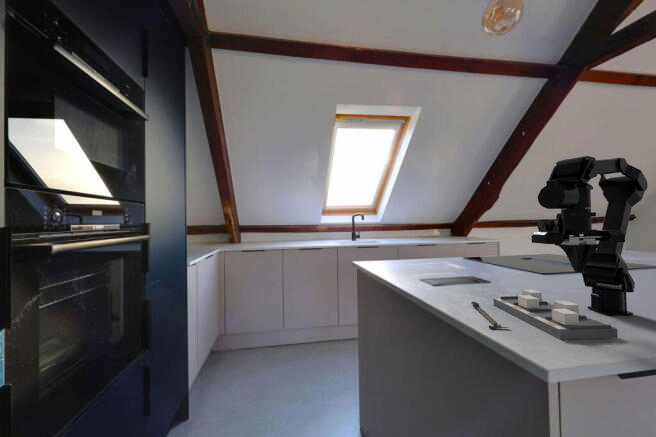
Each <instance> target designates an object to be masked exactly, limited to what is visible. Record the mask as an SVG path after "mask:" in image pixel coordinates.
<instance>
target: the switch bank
mask: <svg viewBox="0 0 656 437" xmlns="http://www.w3.org/2000/svg"><path fill="white" fill-rule="evenodd" d="M492 300H493V306H494V307H497V308H498V309H500V310H502V311H504V312H505V313H508V314H509V315H511V316H514V317H515V318H517V319H520V320H522V321H523V322H525V323H527V324H528V325H531V326H533V327H534V328H537V329H538V330H540V331H543V332H544V333H546V334H548V335H551V337H552V336H553V337H555V338H556V339H558V340H560V341H562V340H563V341H564V340H597V339H601V340H602V339H603V340H604V339H618V337H619V336H618V332H619V331H618V328H617V327H614V326H612V324H607V323H603V322H600V321H598V320H596V319H592V318H590V317H587V315H584V314H583V315H582V314H580V313H579V315H578V317H579V325H564V324H561V323H559V322H557V321H555V320H552V309H554V303H553V304H552V303H550V302H549V301H546V300H542V301H539V308H525V307H523V306H521V305H518V295H515V296H514V295H510V296H509V295H508V296H507V295H506V296H501V295H500V298H495V297H494V298H493V299H492Z"/></svg>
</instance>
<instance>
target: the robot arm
mask: <svg viewBox="0 0 656 437" xmlns="http://www.w3.org/2000/svg"><path fill="white" fill-rule="evenodd" d="M617 173H618V174H619V173H620V174H621V176H615V177H609V178H607V177H606V176H605V175H610V174H617ZM598 175H600V178H599V181H598V183H597V184H598V187H599V188H600V189H601V191H602V195H603V197H604V198H605V201H606V202H607V207H606V211H605V215H604V219H603V223H602V227H601V229H594V228H593V226H592V225H593V224H592V223H593V222H592V220H593V219H592V217H594V218H595V217H597V212H596V211H595V212H593V211H592V199H591V198H592V197H591V196H592V195H591V191H593V190H594V186H593V185H592V184H590V181H591V180H592V179H594V178H596V177H597V176H598ZM545 183H546V185H545V186H544V187H542V188H541V189H540V191H539V193H538V195H537V202H538V204H539V205H540V206H541V207H542V208H544V209H545V210H546V209H547V210H560V213H556V216H555V218H556V219H554V220H549V219H545V218H544V219H539V220H538V221H537V229H538V231H534V232H533V233H532V235H531V243H533V244H541V245H554V246H556V247H559V248H561V249H562V250H563V251H564V253H565V255H566V257H567V259H568V261H569V263H570V264H571V266H572V269H573V271H574V272H575V273H581V275H582V280H583V283H584V286H585V287H587V288H588V287H589V288H591V292H590V305H589V306H587V309H589V310H592V311H595V312H598V313H601V314H604V315H606V316H631V315H632V316H633V315H634V312H632V311H629V310H628V303H627V293H635V289H636V285H635V284H636V283H635V281H634V279H633V277H632V276H631V274H630V273H629V271H628V268H629V266H628V264H627V263H626V261H625V260H624V258H623V257H622V253H623V248H624V244H625V243H626V235H627V231H628V230H627V229H628V226H629V223H630V218H631V212H632V208H633V207H634V206H635V205H637V204H638V203H639V202H641V200H643V198H644V194H645V192H646V191H647V190H648V180H647V178H646V176H645V175H644V173H643V172H642V170H641V169H639V168H637V167H636V166H633V165H631V164H629V163H628V161H627V160H626V158H624V157H616V158H615V157H614V158H608V159H596V157H594V156H590V155H584V156H578V157H577V156H576V157H573V158H566V159H560V160H557V161H556V163H555V166H553V168H552V170H551V173H550V176H549V178H548V180H546V182H545ZM597 242H598V243H597Z"/></svg>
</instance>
